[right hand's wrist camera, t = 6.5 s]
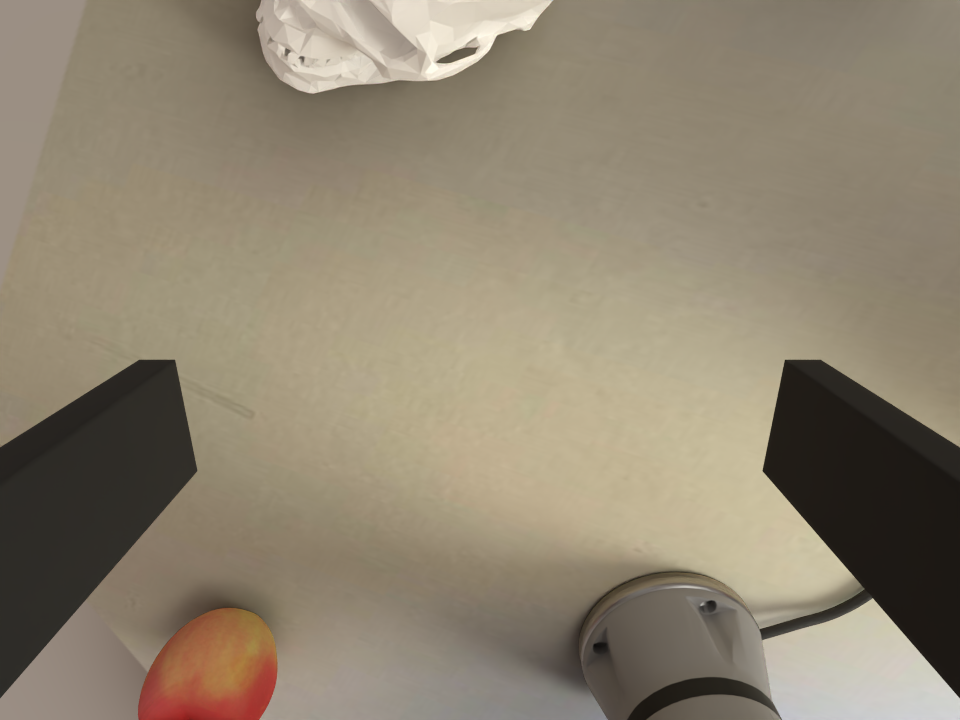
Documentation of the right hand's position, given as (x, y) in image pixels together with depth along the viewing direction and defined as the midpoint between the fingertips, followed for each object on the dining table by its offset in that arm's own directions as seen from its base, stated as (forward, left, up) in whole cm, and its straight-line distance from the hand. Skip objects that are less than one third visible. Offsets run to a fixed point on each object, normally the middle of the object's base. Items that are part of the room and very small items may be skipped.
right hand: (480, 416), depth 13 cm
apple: (+34, +20, -27) cm, 48 cm away
